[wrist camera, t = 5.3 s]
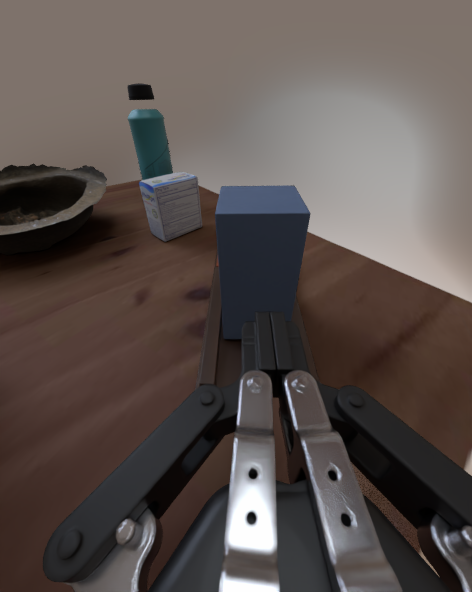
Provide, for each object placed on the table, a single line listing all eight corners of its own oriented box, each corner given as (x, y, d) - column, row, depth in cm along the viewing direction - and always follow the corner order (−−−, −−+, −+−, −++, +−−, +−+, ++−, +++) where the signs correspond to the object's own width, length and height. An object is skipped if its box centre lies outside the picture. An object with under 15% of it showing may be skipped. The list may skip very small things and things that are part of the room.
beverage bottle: (165, 211, 50) (139, 82, 38) (141, 206, 53) (109, 83, 40) (184, 201, 55) (167, 83, 42) (161, 197, 57) (139, 84, 45)
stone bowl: (66, 200, 56) (48, 154, 50) (148, 230, 47) (139, 178, 41) (-84, 244, 39) (-138, 182, 33) (3, 302, 31) (-49, 234, 25)
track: (195, 392, 20) (193, 382, 19) (219, 236, 41) (219, 228, 40) (321, 393, 19) (325, 383, 19) (279, 235, 41) (280, 227, 40)
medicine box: (188, 221, 46) (181, 170, 41) (203, 228, 44) (197, 175, 38) (150, 234, 42) (137, 180, 37) (165, 243, 40) (153, 186, 34)
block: (223, 339, 23) (214, 213, 15) (226, 298, 28) (221, 186, 20) (287, 339, 23) (310, 212, 15) (280, 298, 28) (294, 185, 20)
